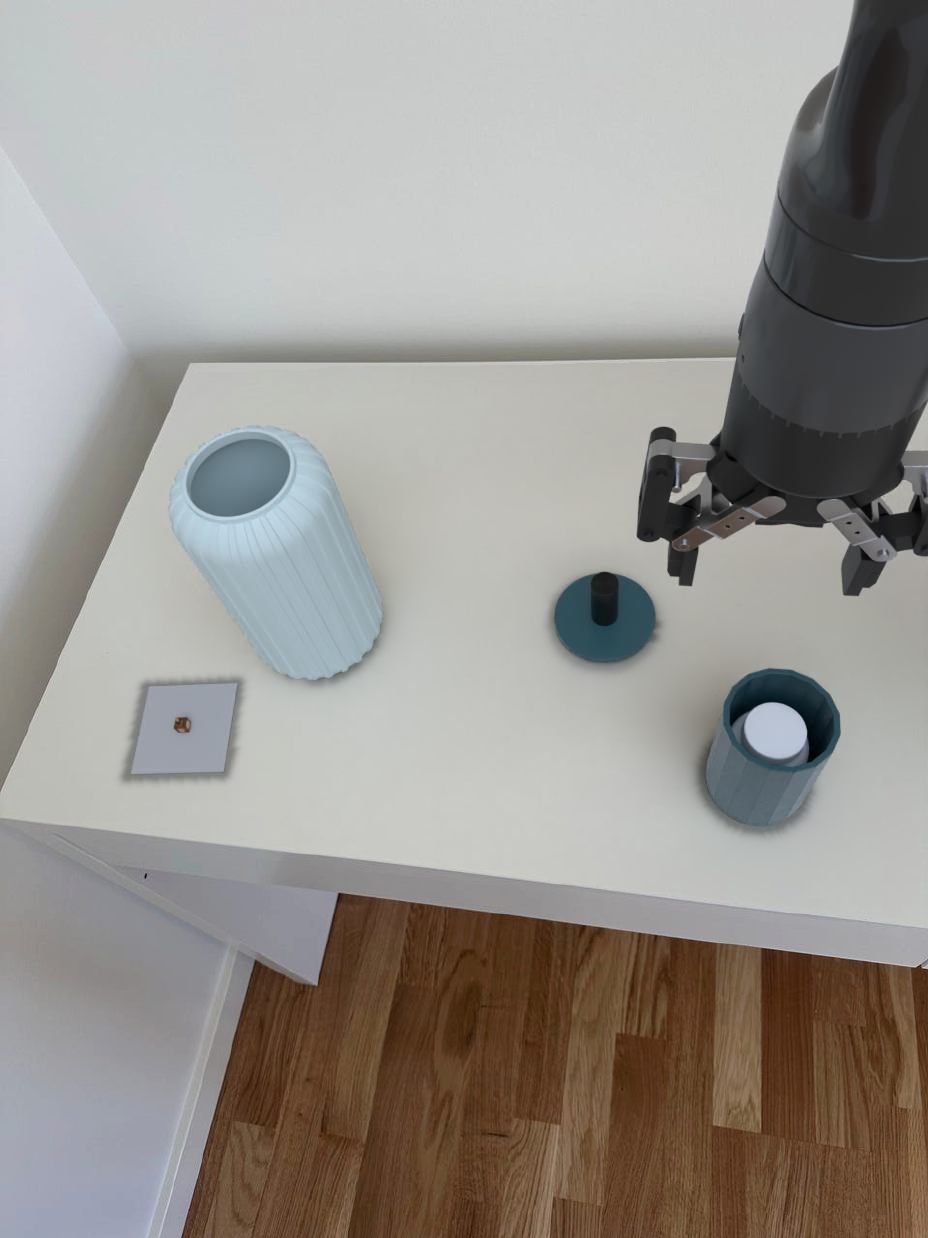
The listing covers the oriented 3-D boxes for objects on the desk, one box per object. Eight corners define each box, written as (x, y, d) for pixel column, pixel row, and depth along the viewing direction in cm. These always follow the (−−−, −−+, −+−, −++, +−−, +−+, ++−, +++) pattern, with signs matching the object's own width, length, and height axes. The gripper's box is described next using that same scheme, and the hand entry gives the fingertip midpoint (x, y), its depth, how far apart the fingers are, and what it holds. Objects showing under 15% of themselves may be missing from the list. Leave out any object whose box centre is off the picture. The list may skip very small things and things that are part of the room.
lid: (657, 583, 78) (661, 542, 73) (651, 670, 74) (656, 633, 69) (560, 577, 80) (557, 536, 74) (549, 662, 76) (546, 625, 70)
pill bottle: (701, 762, 69) (716, 710, 61) (764, 733, 70) (787, 677, 61) (741, 826, 67) (761, 781, 58) (805, 795, 67) (835, 746, 59)
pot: (804, 739, 70) (838, 672, 60) (806, 831, 66) (842, 777, 56) (706, 730, 71) (724, 664, 61) (704, 820, 68) (722, 766, 58)
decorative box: (223, 771, 75) (215, 763, 73) (130, 774, 76) (120, 766, 74) (237, 683, 79) (230, 673, 77) (149, 686, 80) (139, 676, 78)
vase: (321, 717, 76) (227, 575, 57) (234, 641, 81) (120, 486, 62) (416, 622, 79) (357, 458, 60) (327, 555, 84) (246, 382, 65)
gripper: (647, 421, 35) (629, 628, 49) (1053, 433, 33) (912, 647, 47) (655, 286, 39) (636, 515, 53) (1020, 288, 36) (899, 527, 50)
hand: (766, 577), depth 50 cm, fingers open, 8 cm apart
